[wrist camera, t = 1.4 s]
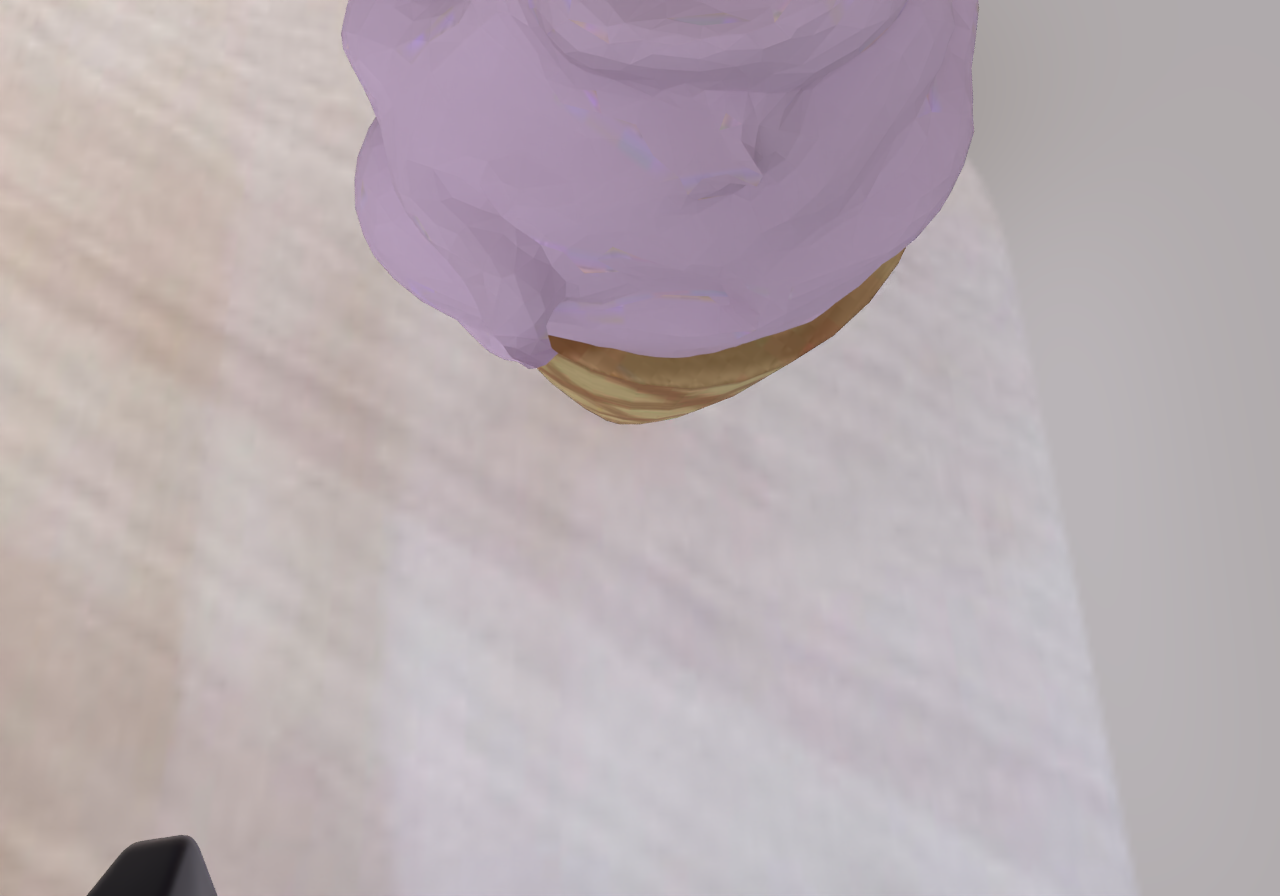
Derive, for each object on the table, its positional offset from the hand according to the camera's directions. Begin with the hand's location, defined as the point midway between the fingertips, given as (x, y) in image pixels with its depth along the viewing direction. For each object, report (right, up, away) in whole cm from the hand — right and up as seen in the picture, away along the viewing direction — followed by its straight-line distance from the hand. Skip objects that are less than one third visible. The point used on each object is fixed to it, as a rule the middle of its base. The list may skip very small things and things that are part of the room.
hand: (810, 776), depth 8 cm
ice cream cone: (-2, +3, +14) cm, 15 cm away
